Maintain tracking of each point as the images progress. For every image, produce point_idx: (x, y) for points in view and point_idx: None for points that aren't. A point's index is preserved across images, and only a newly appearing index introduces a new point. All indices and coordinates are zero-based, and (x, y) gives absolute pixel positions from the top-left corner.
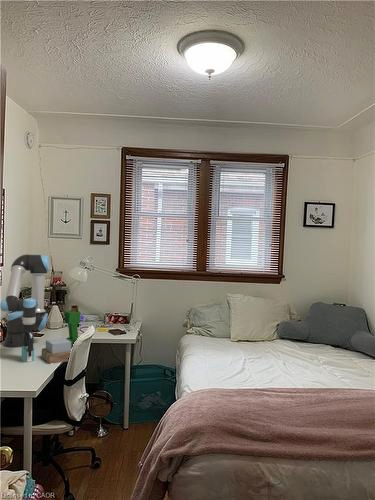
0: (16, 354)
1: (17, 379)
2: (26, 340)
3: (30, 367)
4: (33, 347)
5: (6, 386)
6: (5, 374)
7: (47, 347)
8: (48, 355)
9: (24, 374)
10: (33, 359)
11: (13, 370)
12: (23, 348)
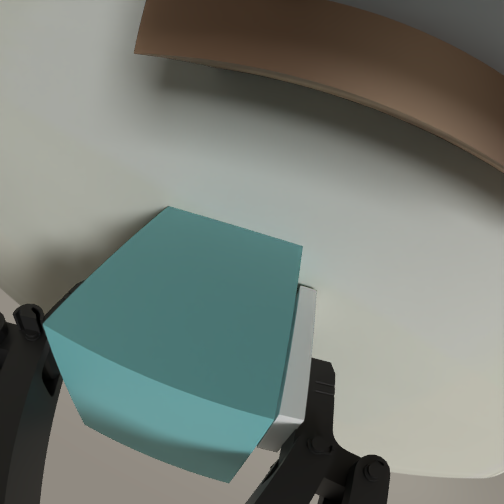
0: (14, 243)
1: (490, 453)
2: (30, 494)
3: (453, 376)
4: (194, 396)
5: (485, 475)
6: (395, 470)
7: (477, 16)
8: None
9: (489, 429)
10: (299, 262)
11: (385, 446)
12: (169, 463)
